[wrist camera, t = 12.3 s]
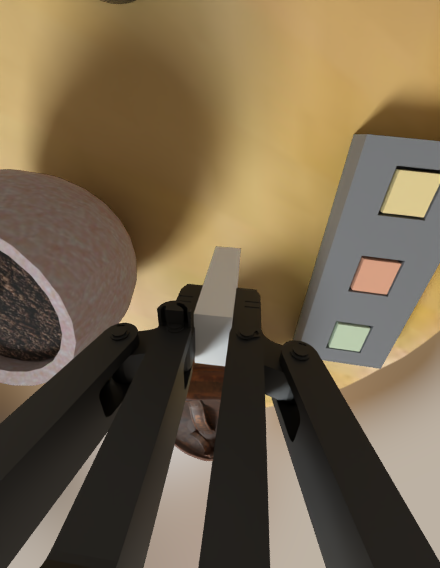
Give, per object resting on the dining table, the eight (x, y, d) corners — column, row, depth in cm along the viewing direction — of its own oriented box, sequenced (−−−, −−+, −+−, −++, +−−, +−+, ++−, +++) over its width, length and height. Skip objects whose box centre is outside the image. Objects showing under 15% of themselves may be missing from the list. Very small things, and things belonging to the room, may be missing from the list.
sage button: (332, 311, 43) (338, 324, 40) (362, 315, 43) (370, 328, 40) (324, 333, 46) (329, 347, 43) (352, 337, 46) (359, 351, 43)
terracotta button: (355, 249, 38) (364, 259, 35) (389, 253, 38) (401, 263, 35) (344, 278, 40) (352, 289, 37) (376, 282, 40) (386, 294, 37)
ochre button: (386, 166, 32) (399, 170, 29) (426, 170, 32) (444, 174, 29) (371, 206, 35) (382, 212, 32) (409, 210, 35) (423, 217, 32)
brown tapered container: (222, 394, 59) (210, 486, 43) (150, 343, 54) (108, 427, 38) (284, 355, 51) (297, 451, 35) (207, 291, 46) (183, 371, 30)
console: (353, 134, 32) (367, 134, 28) (473, 145, 31) (504, 147, 27) (293, 338, 49) (296, 356, 45) (370, 349, 48) (380, 368, 44)
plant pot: (149, 315, 50) (34, 509, 24) (25, 279, 49) (-230, 439, 23) (170, 188, 38) (-14, 303, 12) (7, 138, 37) (-563, 145, 11)
